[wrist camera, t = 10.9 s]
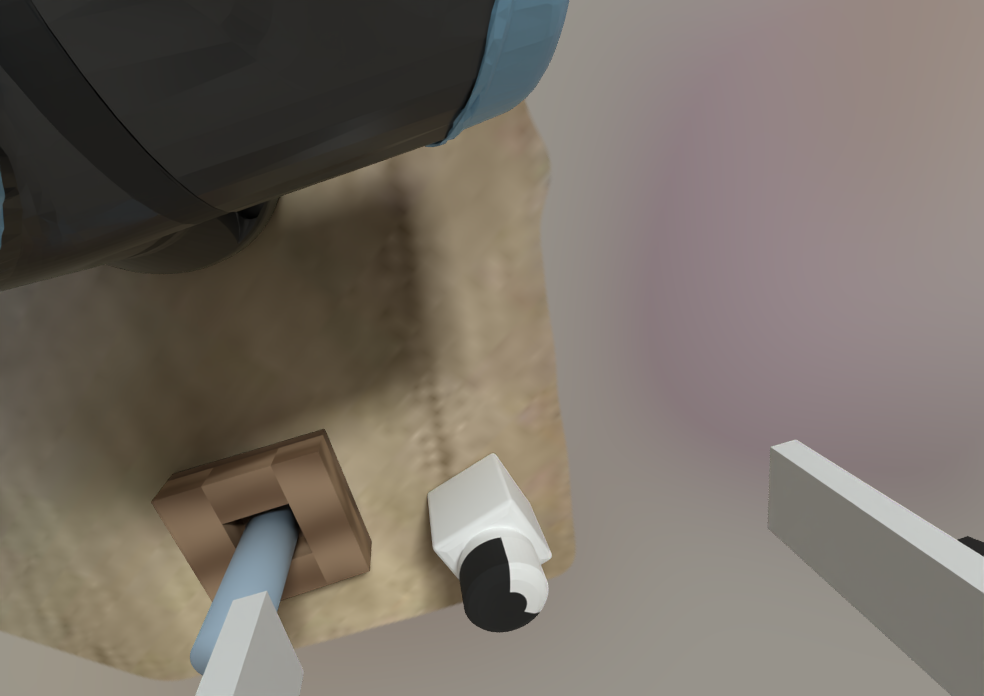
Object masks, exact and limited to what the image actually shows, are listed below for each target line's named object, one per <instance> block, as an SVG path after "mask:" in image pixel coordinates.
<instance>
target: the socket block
mask: <svg viewBox="0 0 984 696" xmlns="http://www.w3.org/2000/svg"><path fill="white" fill-rule="evenodd" d="M151 503H152V504H153V506H154V508H155V509H156V511H157V513H158V514H159V516H160V518H161V519H162V521H163V522H164V524H165V526H166V527H167V529H168V531H169V532H170V534H171V535H172V537H173V539H174V540H175V542H176V544H177V545H178V547H179V549H180V550H181V552H182V553H183V555H184V557H185V558H186V560H187V562H188V563H189V565H190V566H191V568H192V570H193V571H194V573H195V575H196V576H197V578H198V580H199V581H200V583H201V584H202V586H203V588H204V589H205V591H206V593H207V594H208V596H209V597H210V599H211V601H212V602H213V600H214V598H215V595H216V593H217V591H218V589H219V586H220V584H221V582H222V579H223V577H224V575H225V573H226V570H227V568H228V566H229V564H230V561H231V559H232V557H233V554H234V552H235V550H236V548H237V545H238V543H239V541H240V539H241V536H242V534H243V532H244V529H245V527H246V525H247V523H248V520H249V518H250V516H251V515H253V514H257V513H260V512H263V511H266V510H269V509H273V508H276V507H279V506H282V505H286V504H289V505H290V507H291V509H292V511H293V513H294V515H295V518H296V520H297V522H298V524H299V526H300V532H299V535H298V539H297V542H296V546H295V550H294V553H293V557H292V560H291V564H290V568H289V571H288V575H287V578H286V582H285V586H284V589H283V593H282V596H281V600H284V599H287V598H290V597H293V596H296V595H299V594H302V593H305V592H308V591H311V590H314V589H317V588H320V587H323V586H326V585H329V584H332V583H335V582H338V581H341V580H344V579H347V578H350V577H353V576H356V575H359V574H362V573H365V572H368V571H370V559H371V544H372V541H371V539H370V536H369V534H368V532H367V529H366V527H365V524H364V522H363V520H362V517H361V515H360V512H359V510H358V508H357V505H356V503H355V500H354V498H353V496H352V493H351V491H350V488H349V486H348V484H347V481H346V479H345V476H344V474H343V472H342V469H341V467H340V464H339V462H338V460H337V457H336V455H335V452H334V450H333V448H332V445H331V443H330V440H329V438H328V436H327V433H326V431H325V429H322V430H319V431H316V432H312V433H309V434H306V435H302V436H299V437H296V438H292V439H289V440H286V441H282V442H279V443H275V444H272V445H269V446H265V447H262V448H259V449H255V450H252V451H249V452H245V453H242V454H239V455H235V456H232V457H229V458H225V459H222V460H218V461H215V462H212V463H208V464H205V465H202V466H198V467H195V468H192V469H188V470H185V471H182V472H178V473H175V474H172V476H171V477H170V478H169V479H168V481H167V482H166V483H165V485H164V486H163V487H162V488H161V490H160V491H159V492H158V494H157V495H156V496H155V497H154V499H153V500H152V501H151ZM281 600H280V601H281Z"/></svg>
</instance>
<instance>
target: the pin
mask: <svg viewBox="0 0 984 696" xmlns="http://www.w3.org/2000/svg"><path fill="white" fill-rule="evenodd" d="M299 532H300V526H299V524H298V522H297V520H296V518H295V515H294V513H293V511H292V509H291V507H290V505H289V504H286V505H282V506H279V507H276V508H273V509H269V510H266V511H263V512H260V513H257V514H253V515H251V516H250V518H249V520H248V523H247V525H246V527H245V529H244V532H243V534H242V536H241V539H240V541H239V543H238V545H237V548H236V550H235V552H234V554H233V557H232V559H231V561H230V564H229V566H228V568H227V570H226V573H225V575H224V577H223V579H222V582H221V584H220V586H219V589H218V591H217V593H216V595H215V598H214V600H213V602H212V604H211V607H210V609H209V611H208V614H207V616H206V618H205V620H204V623H203V625H202V627H201V629H200V632H199V634H198V636H197V638H196V641H195V643H194V645H193V648H192V650H191V653H190V661H191V664H192V666H193V667H194V669H195V670H196V671H197V672H198V673H200V674H201V675H204V672H205V669H206V667H207V664H208V662H209V659H210V657H211V654H212V652H213V649H214V647H215V644H216V642H217V639H218V637H219V634H220V632H221V629H222V627H223V624H224V622H225V619H226V616H227V614H228V611H229V609H230V606H231V604H232V601H233V600H236V599H239V598H243V597H246V596H250V595H253V594H257V593H260V592H264V591H267V592H268V594H269V596H270V599H271V601H272V603H273V605H274V607H275V609H276V612H277V611H278V607H279V604H280V600H281V596H282V593H283V589H284V586H285V582H286V578H287V575H288V571H289V568H290V564H291V560H292V557H293V553H294V550H295V546H296V542H297V539H298V535H299Z"/></svg>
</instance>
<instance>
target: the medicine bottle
mask: <svg viewBox="0 0 984 696" xmlns="http://www.w3.org/2000/svg"><path fill="white" fill-rule="evenodd" d="M427 498H428V507H429V517H430V526H431V536H432V545H433V550H434V551H435V552H436V554H437V555H438V556H439V557H440V558H441V559H442V561H443V562H444V563H445V564H446V565H447V566H448V568H449V569H450V570H451V571H452V572H453V573H454V575H455V576H456V577H457V578H458V579H459V580H460V586H461V592H462V598H463V604H464V609H465V613H466V615H467V617H468V618H469V619H470V621H471V622H472V623H473V624H475V625H476V626H478V627H480V628H482V629H484V630H487V631H491V632H508V631H512V630H515V629H518V628H520V627H522V626H524V625H526V624H528V623H529V622H530V621H532V620H533V619H534V618H535V617H536V616H537V615H538V614H539V613H540V611H541V610H542V608H543V606H544V604H545V602H546V600H547V596H548V591H549V589H548V582H547V579H546V577H545V574H544V572H543V569H542V567H541V564H543V563H544V562H546V561H548V560H549V559H550V558H551V557H552V554H551V551H550V549H549V547H548V544H547V542H546V540H545V537H544V535H543V533H542V530H541V528H540V526H539V523H538V521H537V519H536V516H535V514H534V512H533V509H532V507H531V505H530V503H529V501H528V500H527V498H526V497H525V496H524V494H523V493H522V491H521V490H520V488H519V487H518V486H517V484H516V483H515V481H514V480H513V478H512V477H511V476H510V474H509V473H508V471H507V470H506V468H505V467H504V466H503V464H502V463H501V461H500V460H499V458H498V457H497V456H496V455H495V454H494V453H492V454H490V455H488V456H486V457H485V458H483V459H482V460H480V461H478V462H477V463H475V464H474V465H472V466H470V467H469V468H467V469H466V470H464V471H462V472H461V473H459V474H457V475H456V476H454V477H453V478H451V479H449V480H448V481H446V482H445V483H443V484H441V485H440V486H438V487H437V488H435V489H433V490H432V491H430V492H429V493H428V496H427Z"/></svg>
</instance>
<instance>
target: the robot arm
mask: <svg viewBox="0 0 984 696" xmlns="http://www.w3.org/2000/svg"><path fill="white" fill-rule="evenodd" d="M568 4H569V0H0V291H4V290H7V289H11V288H15V287H19V286H23V285H26V284H30V283H34V282H38V281H42V280H46V279H50V278H54V277H58V276H62V275H65V274H69V273H73V272H77V271H81V270H85V269H89V268H93V267H97V266H101V265H104V264H106V265H110V266H113V267H116V268H120V269H124V270H129V271H134V272H140V273H150V274H173V273H183V272H189V271H194V270H198V269H202V268H205V267H208V266H210V265H213V264H215V263H218V262H220V261H223V260H225V259H227V258H229V257H231V256H233V255H235V254H236V253H238V252H239V251H241V250H242V249H244V248H245V247H246V246H247V245H249V244H250V243H251V242H252V241H253V240H254V239H255V238H256V237H257V236H258V235H259V234H260V232H261V231H262V230H263V229H264V227H265V226H266V224H267V223H268V221H269V219H270V218H271V216H272V213H273V211H274V209H275V206H276V204H277V201H278V197H280V196H283V195H286V194H289V193H292V192H294V191H297V190H300V189H303V188H306V187H309V186H312V185H314V184H317V183H320V182H323V181H326V180H329V179H332V178H334V177H337V176H340V175H343V174H346V173H349V172H352V171H355V170H357V169H360V168H363V167H366V166H369V165H372V164H375V163H377V162H380V161H383V160H386V159H389V158H392V157H395V156H397V155H400V154H403V153H406V152H409V151H412V150H415V149H417V148H420V147H423V146H426V147H435V146H440V145H443V144H445V143H446V142H447V140H451V139H454V138H455V137H456V136H457V135H458V134H459V133H460V132H462V131H463V130H464V129H467V128H469V127H471V126H474V125H476V124H479V123H481V122H484V121H486V120H488V119H491V118H493V117H496V116H498V115H501V114H503V113H505V112H508V111H509V110H511V109H513V108H514V107H515V106H517V105H518V104H519V103H520V102H521V101H523V100H524V99H525V98H526V97H527V96H528V95H529V94H530V93H531V92H532V91H533V90H534V88H535V87H536V86H537V84H538V82H539V81H540V79H541V77H542V76H543V74H544V72H545V71H546V69H547V67H548V65H549V63H550V61H551V59H552V56H553V54H554V52H555V49H556V46H557V43H558V40H559V38H560V34H561V31H562V28H563V24H564V21H565V17H566V12H567V8H568ZM768 529H769V530H770V531H771V532H772V533H773V534H774V535H775V536H777V537H778V538H779V539H780V540H781V541H782V542H783V543H784V544H785V545H786V546H788V547H789V548H790V549H791V550H792V551H793V552H794V553H795V554H796V555H797V556H799V557H800V558H801V559H802V560H803V561H804V562H805V563H806V564H807V565H808V566H810V567H811V568H812V569H813V570H814V571H815V572H816V573H817V574H818V575H819V576H821V577H822V578H823V579H824V580H825V581H826V582H827V583H828V584H829V585H831V586H832V587H833V588H834V589H835V590H836V591H837V592H838V593H839V594H840V595H841V596H842V597H844V598H845V599H846V600H847V601H848V602H849V603H850V604H851V605H852V606H853V607H855V608H856V609H857V610H858V611H859V612H860V613H861V614H862V615H863V616H864V617H866V618H867V619H868V620H869V621H870V622H871V623H872V624H873V625H874V626H875V627H877V628H878V629H879V630H880V631H881V632H882V633H883V634H884V635H885V636H886V637H888V638H889V639H890V640H891V641H892V642H893V643H894V644H895V645H896V646H897V647H899V648H900V649H901V650H902V651H903V652H904V653H905V654H906V655H907V656H908V657H910V658H911V659H912V660H913V661H914V662H915V663H916V664H917V665H918V666H920V667H921V668H922V669H923V670H924V671H925V672H926V673H927V674H928V675H929V676H930V677H931V678H933V679H934V680H935V681H936V682H937V683H938V684H939V685H940V686H941V687H942V688H944V689H945V690H946V691H947V692H948V693H949V694H950V695H951V696H984V542H981V541H979V540H976V539H973V538H971V537H968V536H967V537H964V538H961V539H958V540H956V539H954V538H953V537H951V536H950V535H948V534H946V533H945V532H943V531H942V530H940V529H938V528H937V527H935V526H934V525H932V524H930V523H929V522H927V521H926V520H924V519H922V518H921V517H919V516H918V515H916V514H914V513H913V512H911V511H910V510H907V509H906V508H905V507H903V506H902V505H900V504H898V503H897V502H895V501H893V500H892V499H890V498H889V497H887V496H885V495H884V494H882V493H881V492H879V491H877V490H875V489H874V488H873V487H871V486H869V485H868V484H866V483H865V482H863V481H861V480H860V479H858V478H857V477H855V476H853V475H852V474H850V473H849V472H847V471H845V470H844V469H842V468H841V467H839V466H837V465H836V464H834V463H833V462H831V461H829V460H828V459H826V458H824V457H823V456H821V455H820V454H818V453H816V452H815V451H813V450H812V449H810V448H809V447H807V446H805V445H804V444H802V443H801V442H799V441H797V440H793V441H789V442H786V443H782V444H779V445H775V446H772V447H770V474H769V501H768ZM303 674H304V670H303V668H302V666H301V664H300V661H299V659H298V657H297V655H296V653H295V651H294V648H293V646H292V644H291V642H290V640H289V638H288V635H287V633H286V631H285V629H284V627H283V625H282V622H281V620H280V618H279V616H278V614H277V612H276V609H275V607H274V605H273V603H272V601H271V599H270V596H269V594H268V592H267V591H264V592H260V593H257V594H253V595H250V596H246V597H243V598H239V599H236V600H233V601H232V604H231V606H230V609H229V611H228V614H227V616H226V619H225V622H224V624H223V627H222V629H221V632H220V634H219V637H218V639H217V642H216V644H215V647H214V649H213V652H212V654H211V657H210V659H209V662H208V664H207V667H206V669H205V672H204V675H203V677H202V680H201V682H200V685H199V687H198V690H197V692H196V695H195V696H300V690H301V684H302V680H303Z"/></svg>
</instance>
